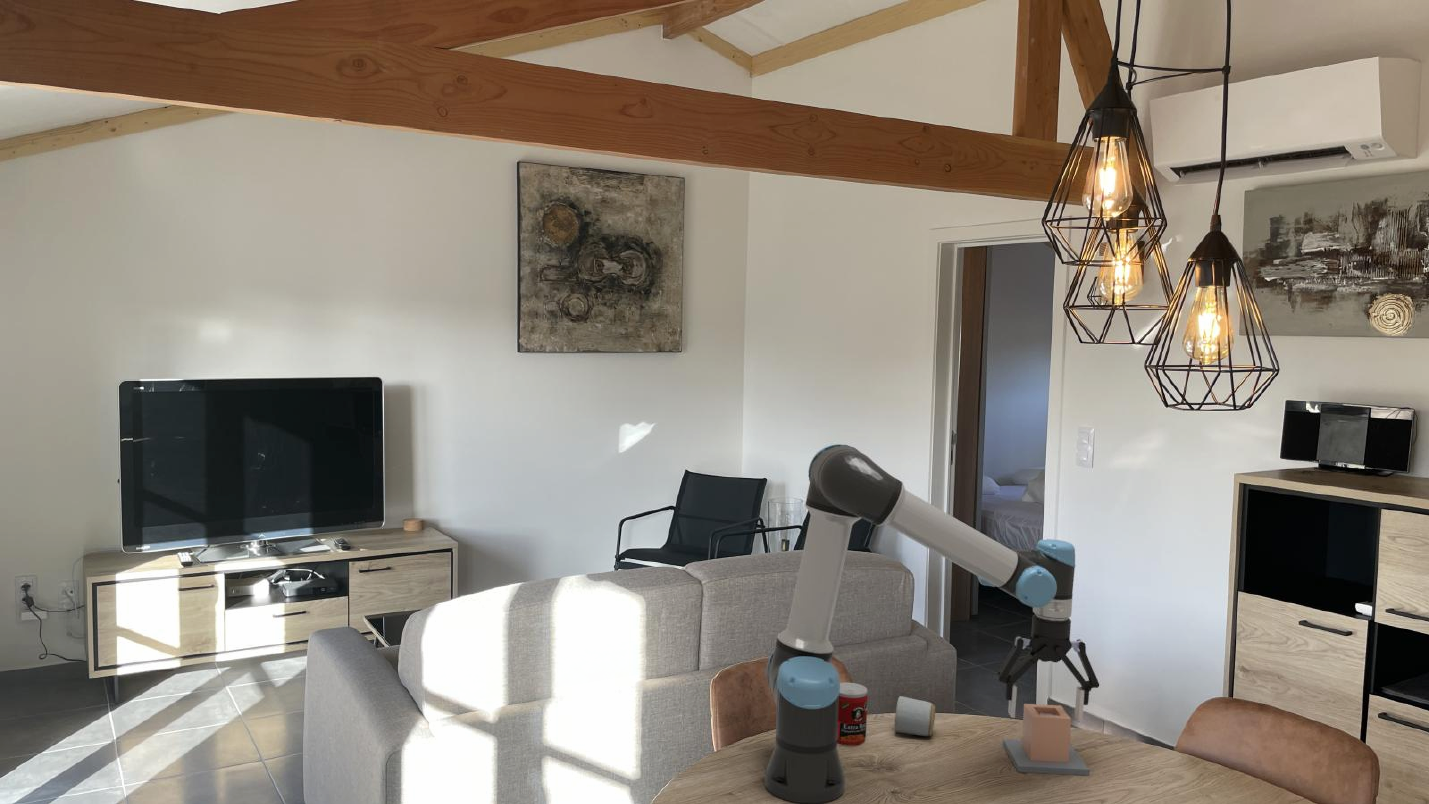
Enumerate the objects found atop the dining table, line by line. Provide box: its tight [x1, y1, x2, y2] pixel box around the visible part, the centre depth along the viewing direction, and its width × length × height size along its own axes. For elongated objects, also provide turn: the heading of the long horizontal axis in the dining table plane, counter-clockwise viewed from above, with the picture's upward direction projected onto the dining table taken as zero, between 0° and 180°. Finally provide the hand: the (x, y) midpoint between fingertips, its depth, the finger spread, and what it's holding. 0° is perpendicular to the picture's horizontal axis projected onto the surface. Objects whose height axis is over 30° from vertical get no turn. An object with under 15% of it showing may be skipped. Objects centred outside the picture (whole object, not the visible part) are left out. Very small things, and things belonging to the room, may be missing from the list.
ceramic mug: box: [894, 695, 936, 737], centre depth 227 cm, size 11×8×8 cm
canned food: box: [837, 681, 869, 746], centre depth 221 cm, size 8×8×11 cm
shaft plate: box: [1002, 738, 1091, 777], centre depth 213 cm, size 14×14×1 cm
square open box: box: [1021, 703, 1072, 762], centre depth 213 cm, size 8×8×9 cm
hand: (1044, 717), depth 212 cm, fingers open, 13 cm apart
